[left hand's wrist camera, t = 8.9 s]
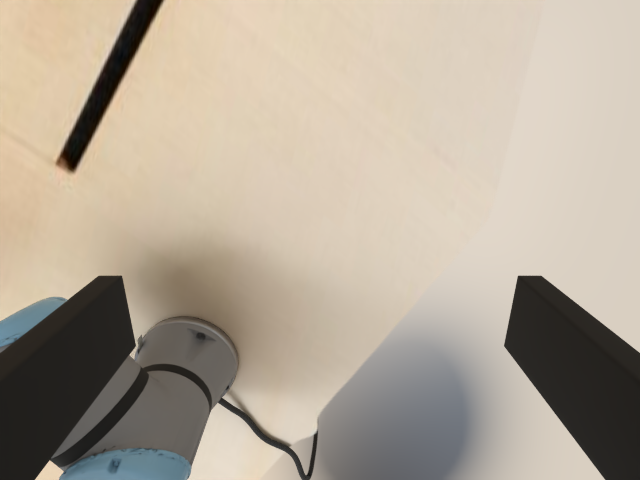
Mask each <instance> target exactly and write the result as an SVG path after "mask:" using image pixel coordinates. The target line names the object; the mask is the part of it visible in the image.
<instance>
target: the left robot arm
mask: <svg viewBox="0 0 640 480" xmlns="http://www.w3.org/2000/svg"><path fill="white" fill-rule="evenodd" d="M135 346H136V344H135V339H134V334H133V329H132V324H131V319H130V314H129V309H128V304H127V299H126V294H125V289H124V284H123V279H122V276H98V277H97V278H95V279H94V280H93V281H92V282H90V283H89V284H88V285H86V286H85V287H84V288H83V289H81V290H80V291H79V292H78V293H76V294H75V295H74V296H72V297H71V298H70V299H69V300H67V299H65V298H61V297H50V298H46V299H43V300H41V301H38V302H36V303H34V304H32V305H30V306H28V307H26V308H24V309H22V310H20V311H18V312H16V313H15V314H13V315H11V316H9V317H7V318H5V319H4V320H2V321H0V480H35V479H36V477H37V476H38V475H39V473H40V472H41V471H42V469H43V468H44V467H45V465H46V464H47V463H48V461H49V460H50V461H52V462H53V463H54V464H56V465H57V466H58V467H59V468H61V469H62V470H63V471H64V472H63V474H62V475H61V476H60V478H59V480H187V479H188V478H189V476H190V473H191V466H192V463H193V461H194V458H195V455H196V452H197V449H198V446H199V443H200V440H201V437H202V435H203V432H204V429H205V426H206V423H207V420H208V417H209V414H210V412H211V410H212V409H213V407H214V406H215V405H216V404H217V403H219V404H221V405H222V406H224V407H225V408H227V409H228V410H230V411H231V412H233V413H235V414H236V415H238V416H239V417H241V418H242V419H243V420H244V421H245V422H246V423H247V424H248V425H249V426H250V427H251V429H252V430H253V431H254V432H255V434H256V435H257V436H258V437H259V438H260V439H262V440H263V441H264V442H266V443H268V444H269V445H272V446H274V447H276V448H279V449H281V450H283V451H285V452H287V453H288V454H289V455H290V456H291V457H292V458H293V460H294V462H295V464H296V466H297V469H298V472H299V475H300V477H301V479H302V480H310V478H311V476H312V473H313V469H314V463H315V456H316V449H317V440H318V429H317V431H316V433H315V434H314V437H313V447H312V453H311V459H310V465H309V470H308V474H307V475H305V474H304V471H303V468H302V465H301V462H300V460H299V458H298V456H297V455H296V453H295V452H294V451H293V450H292V449H291V448H289V447H288V446H286V445H284V444H282V443H279V442H277V441H275V440H272V439H270V438H269V437H267V436H266V435H264V434H263V433H262V432H261V431H260V430H259V429H258V428H257V426H256V425H255V424H254V422H253V421H252V420H251V419H250V418H249V417H248V416H247V415H246V414H245V413H244V412H243V411H241V410H240V409H238V408H236V407H235V406H233V405H231V404H230V403H229V402H227V401H226V400H224V399H223V398H222V397H223V396H224V395H225V394H226V393H227V391H228V390H229V389H230V387H231V385H232V384H233V382H234V379H235V376H236V373H237V369H238V355H237V351H236V349H235V346H234V344H233V343H232V341H231V340H230V338H229V337H228V336H227V335H226V334H225V333H224V332H223V331H222V330H221V329H219V328H218V327H216V326H215V325H213V324H211V323H209V322H207V321H204V320H201V319H197V318H192V317H175V318H170V319H167V320H164V321H161V322H159V323H158V324H156V325H155V326H153V327H152V328H151V329H150V330H149V331H148V332H147V333H146V335H145V336H144V337H143V339H142V335H141V336H140V337H139V339H138V348H137V351H136V354H135V360H134V359H133V358H132V357H131V356H130V355H129V354H130V353H131V352H132V350H133V349H134V348H135ZM504 346H505V348H506V349H507V350H508V352H509V353H510V354H511V356H512V357H513V358H514V360H515V361H516V362H517V364H518V365H519V366H520V368H521V369H522V370H523V372H524V373H525V374H526V376H527V377H528V378H529V380H530V381H531V382H532V383H533V385H534V386H535V387H536V389H537V390H538V391H539V393H540V394H541V395H542V397H543V398H544V399H545V401H546V402H547V403H548V405H549V406H550V407H551V408H552V410H553V411H554V413H555V414H556V415H557V416H558V418H559V419H560V420H561V422H562V423H563V424H564V426H565V427H566V428H567V430H568V431H569V432H570V434H571V435H572V436H573V438H574V439H575V440H576V442H577V443H578V444H579V446H580V447H581V448H582V450H583V451H584V452H585V453H586V455H587V456H588V457H589V459H590V460H591V461H592V463H593V464H594V465H595V467H596V468H597V469H598V471H599V472H600V473H601V475H602V476H603V477H604V479H605V480H640V353H639V352H638V351H636V350H635V349H634V348H633V347H631V346H630V345H629V344H628V343H626V342H625V341H624V340H622V339H621V338H620V337H619V336H617V335H616V334H615V333H614V332H612V331H611V330H610V329H608V328H607V327H606V326H605V325H603V324H602V323H601V322H600V321H598V320H597V319H596V318H594V317H593V316H592V315H590V314H589V313H588V312H587V311H585V310H584V309H583V308H582V307H580V306H579V305H578V304H577V303H575V302H574V301H573V300H571V299H570V298H569V297H568V296H566V295H565V294H564V293H562V292H561V291H560V290H559V289H557V288H556V287H555V286H554V285H552V284H551V283H550V282H548V281H547V280H546V279H544V278H543V277H542V276H518V279H517V284H516V289H515V294H514V299H513V304H512V309H511V314H510V319H509V324H508V329H507V334H506V339H505V344H504ZM317 423H318V422H317Z"/></svg>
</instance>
